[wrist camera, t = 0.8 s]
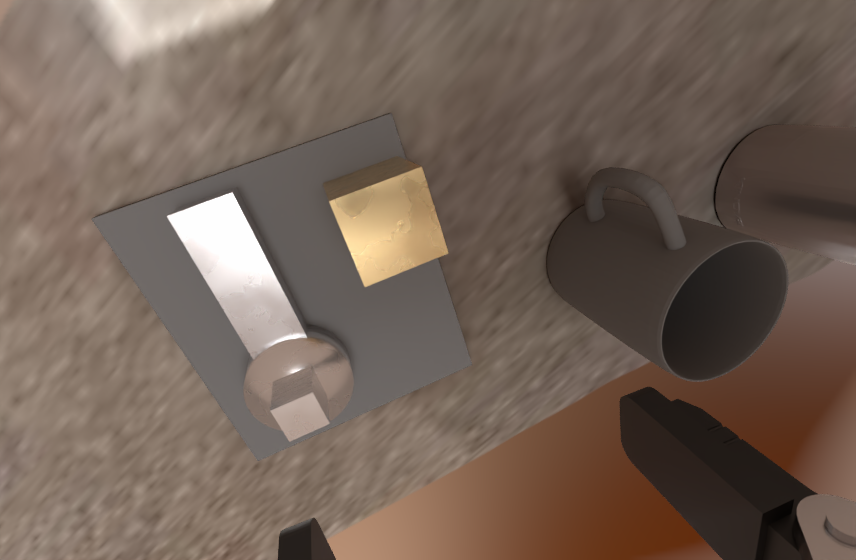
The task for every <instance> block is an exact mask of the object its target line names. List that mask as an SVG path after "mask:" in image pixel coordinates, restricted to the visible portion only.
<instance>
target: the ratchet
mask: <svg viewBox="0 0 856 560" xmlns="http://www.w3.org/2000/svg"><path fill="white" fill-rule="evenodd" d="M167 217H168V219H169V221H170V222H171V224H172V226H173V227H174V229H175V231H176V232H177V234H178V236H179V237H180V239H181V241H182V242H183V244H184V246H185V247H186V249H187V251H188V252H189V254H190V256H191V257H192V259H193V261H194V262H195V264H196V266H197V267H198V269H199V270H200V272H201V274H202V275H203V277H204V279H205V280H206V282H207V284H208V285H209V287H210V289H211V290H212V292H213V294H214V295H215V297H216V299H217V300H218V302H219V304H220V305H221V307H222V309H223V310H224V312H225V314H226V315H227V317H228V319H229V320H230V322H231V324H232V325H233V327H234V328H235V330H236V332H237V333H238V335H239V337H240V338H241V340H242V342H243V343H244V345H245V347H246V348H247V350H248V352H249V353H250V358H249V361H248V366H247V371H246V376H245V381H244V387H243V394H244V400H245V403H246V406H247V407H248V409H249V411H250V412H251V414H252V415H253V416H254V417H255V418H256V419H257V420H259V421H260V422H261V423H263V424H265V425H266V426H268V427H271V428H273V429H277V430H281V431H283V432H284V434H285V436H286V437H287V439H288V440H289V442H290V441H292V440H295V439H297V438H299V437H301V436H304V435H306V434H308V433H310V432H312V431H315V430H317V429H319V428H321V427H324V426H326V425H328V424H330V421H331V420H333V419H334V418H335V417H336V416H338V415H339V414H340V413H341V412H342V411H343V409H344V408H345V407H346V405H347V404H348V402H349V400H350V398H351V395H352V392H353V386H354V379H353V373H352V369H351V364H350V359H349V355H348V352H347V349H346V347H345V345H344V344H343V342H342V341H341V340H340V339H339V338H338V337H337V336H336V335H335V334H333V333H332V332H330V331H328V330H327V329H324V328H322V327H319V326H315V325H309V324H307V323H306V321H305V319H304V317H303V316H302V314H301V312H300V310H299V308H298V306H297V304H296V302H295V300H294V298H293V296H292V294H291V292H290V290H289V288H288V286H287V284H286V282H285V280H284V278H283V276H282V274H281V272H280V270H279V268H278V267H277V265H276V263H275V261H274V259H273V257H272V255H271V253H270V251H269V249H268V247H267V245H266V243H265V241H264V239H263V237H262V235H261V233H260V231H259V229H258V227H257V225H256V223H255V221H254V219H253V218H252V216H251V214H250V212H249V210H248V208H247V206H246V204H245V202H244V200H243V198H242V196H241V194H240V192H239V190H238V188H237V187H235V188H232V189H230V190H227V191H224V192H221V193H219V194H216V195H213V196H210V197H207V198H205V199H202V200H199V201H196V202H193V203H191V204H188V205H185V206H182V207H179V208H177V209H175V210H174V211H173V212H171V213H170V214H169V215H168V216H167Z"/></svg>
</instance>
